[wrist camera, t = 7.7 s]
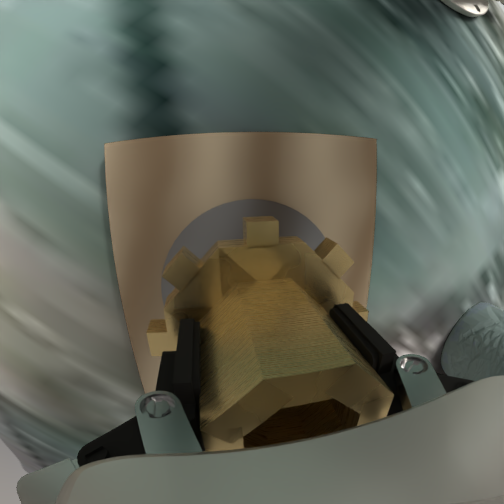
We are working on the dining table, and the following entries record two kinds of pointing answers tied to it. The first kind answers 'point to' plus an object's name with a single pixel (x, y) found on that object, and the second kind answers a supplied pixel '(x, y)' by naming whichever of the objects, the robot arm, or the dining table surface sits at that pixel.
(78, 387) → the dining table surface
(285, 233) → the gear board
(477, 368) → the grey cup
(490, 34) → the dining table surface
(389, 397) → the brass gear
